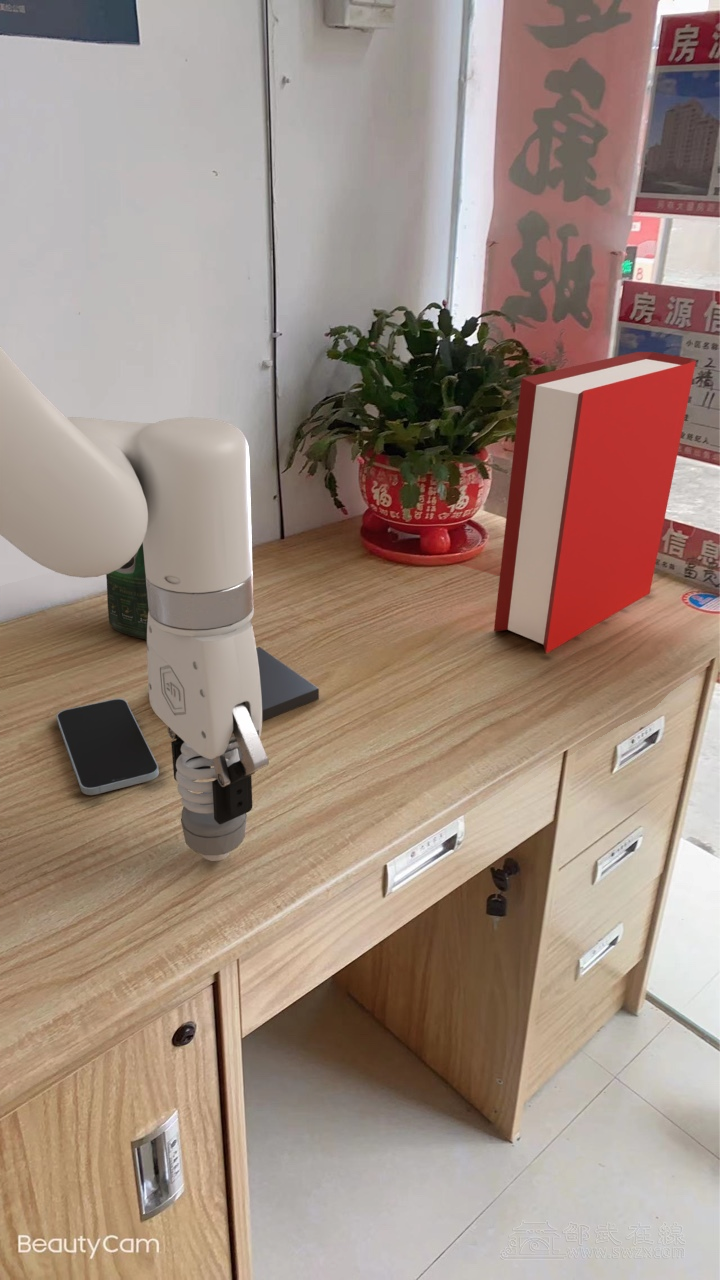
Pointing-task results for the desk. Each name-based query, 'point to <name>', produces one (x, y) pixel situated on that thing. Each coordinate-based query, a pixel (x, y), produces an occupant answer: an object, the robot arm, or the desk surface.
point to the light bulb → (205, 807)
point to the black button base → (281, 686)
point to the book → (589, 491)
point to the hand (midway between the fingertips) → (212, 793)
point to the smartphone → (106, 746)
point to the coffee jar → (129, 597)
